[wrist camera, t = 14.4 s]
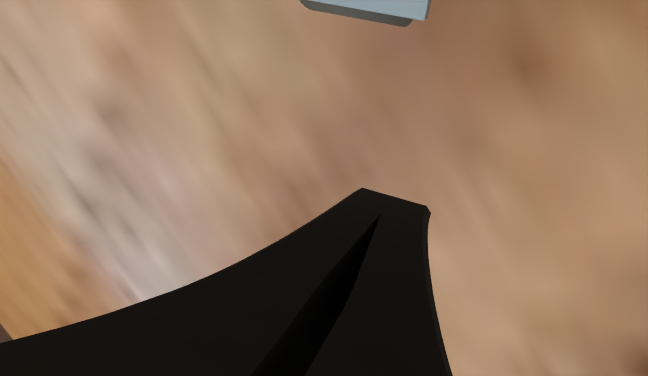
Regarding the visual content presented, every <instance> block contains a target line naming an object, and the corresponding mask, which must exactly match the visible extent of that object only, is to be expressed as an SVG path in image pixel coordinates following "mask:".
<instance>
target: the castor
mask: <svg viewBox="0 0 648 376" xmlns="http://www.w3.org/2000/svg"><path fill="white" fill-rule="evenodd" d="M300 2H301V3H302V4H303V5H304V6H305V7H306V8H308V9H310V10H315V11H320V12H326V13H331V14H337V15H342V16H347V17H353V18H358V19H364V20H369V21H375V22H380V23H385V24H391V25H396V26H402V27H406V26H408V25H409V24H410V23H411V22H412V20H413V19H417V20H422V21H424V20H425V19H426V18H427V17H428V13H429V8H430V3H431V0H300Z"/></svg>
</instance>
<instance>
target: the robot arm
mask: <svg viewBox="0 0 648 376" xmlns="http://www.w3.org/2000/svg"><path fill="white" fill-rule="evenodd" d="M430 215H431V213H430V211H429V209H428V208H427V206H425V205H421V204H418V203H414V202H410V201H407V200H403V199H400V198H396V197H393V196H389V195H386V194H382V193H379V192H375V191H372V190H368V189H365V188H361V189H359V190H357V191H355V192H354V193H352V194H351V195H349V196H348V197H346V198H345V199H343V200H342V201H340V202H339V203H337V204H336V205H335V206H333V207H332V208H330V209H329V210H327V211H325V212H324V213H322V214H321V215H319V216H318V217H316V218H315V219H313V220H312V221H310V222H308V223H307V224H305V225H303V226H302V227H300V228H299V229H297V230H295V231H294V232H292V233H290V234H289V235H287V236H285V237H284V238H282V239H280V240H279V241H277V242H275V243H273V244H271V245H269V246H267V247H266V248H264V249H262V250H260V251H258V252H256V253H254V254H253V255H251V256H249V257H247V258H245V259H243V260H241V261H239V262H237V263H235V264H233V265H231V266H229V267H227V268H225V269H223V270H221V271H219V272H216V273H214V274H212V275H210V276H208V277H205V278H203V279H200V280H198V281H196V282H193V283H191V284H189V285H186V286H184V287H181V288H179V289H176V290H174V291H171V292H168V293H165V294H162V295H159V296H157V297H154V298H151V299H148V300H145V301H142V302H140V303H137V304H134V305H131V306H128V307H125V308H122V309H120V310H117V311H114V312H111V313H108V314H105V315H101V316H98V317H95V318H91V319H88V320H85V321H81V322H78V323H74V324H71V325H68V326H64V327H61V328H57V329H53V330H49V331H46V332H42V333H38V334H34V335H31V336H27V337H23V338H19V339H15V340H11V341H7V342H3V343H0V376H453V375H452V372H451V369H450V365H449V362H448V358H447V354H446V351H445V347H444V343H443V339H442V335H441V330H440V326H439V321H438V317H437V312H436V307H435V302H434V296H433V290H432V283H431V275H430V268H429V258H428V223H429V218H430Z"/></svg>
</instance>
